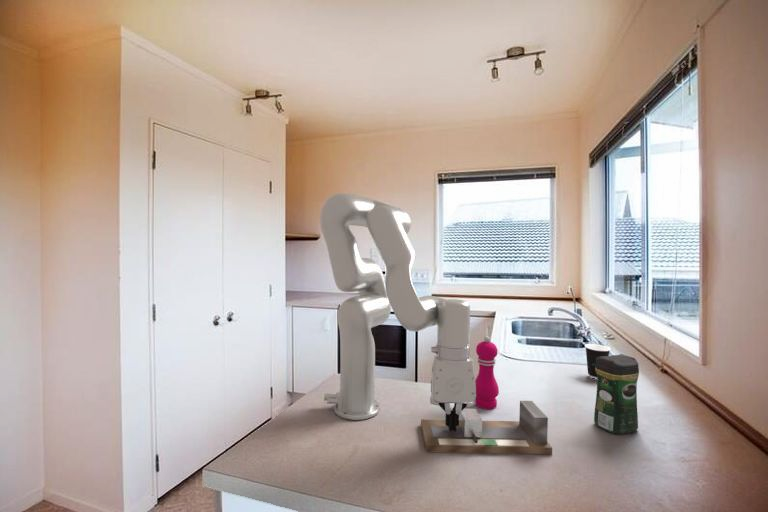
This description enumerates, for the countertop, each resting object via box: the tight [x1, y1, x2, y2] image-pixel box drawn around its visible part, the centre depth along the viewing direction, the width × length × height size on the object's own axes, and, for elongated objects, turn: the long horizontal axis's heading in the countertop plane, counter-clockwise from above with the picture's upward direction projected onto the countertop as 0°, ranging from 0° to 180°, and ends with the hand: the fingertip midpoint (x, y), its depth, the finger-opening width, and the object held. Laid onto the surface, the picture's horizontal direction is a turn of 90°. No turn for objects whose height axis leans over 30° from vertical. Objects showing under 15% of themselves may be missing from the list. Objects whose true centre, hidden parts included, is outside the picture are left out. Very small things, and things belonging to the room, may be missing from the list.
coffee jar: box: [593, 353, 640, 435], centre depth 93 cm, size 10×8×19 cm
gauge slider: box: [459, 407, 483, 443], centre depth 85 cm, size 4×9×4 cm, turn 0°
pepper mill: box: [475, 335, 500, 410], centre depth 106 cm, size 7×7×20 cm
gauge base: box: [420, 400, 553, 455], centre depth 87 cm, size 28×12×8 cm, turn 90°
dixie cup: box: [584, 343, 611, 379], centre depth 129 cm, size 8×8×11 cm
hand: (452, 428), depth 87 cm, fingers closed
